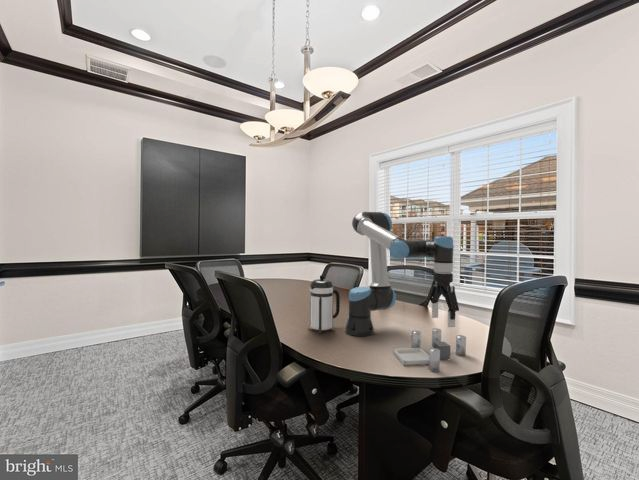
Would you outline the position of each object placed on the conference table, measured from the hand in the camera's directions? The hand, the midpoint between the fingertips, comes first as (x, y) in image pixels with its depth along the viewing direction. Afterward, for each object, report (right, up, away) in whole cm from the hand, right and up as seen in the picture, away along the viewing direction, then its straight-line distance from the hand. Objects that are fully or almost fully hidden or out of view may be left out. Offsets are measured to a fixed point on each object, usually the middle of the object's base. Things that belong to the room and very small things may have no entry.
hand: (442, 322), depth 132 cm
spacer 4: (+10, -15, +4) cm, 19 cm away
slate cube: (0, -16, +1) cm, 16 cm away
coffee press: (-51, -14, +37) cm, 64 cm away
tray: (-13, -15, -1) cm, 20 cm away
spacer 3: (-8, -16, -11) cm, 21 cm away
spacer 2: (+2, -15, +13) cm, 20 cm away
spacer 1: (-8, -15, +10) cm, 20 cm away
